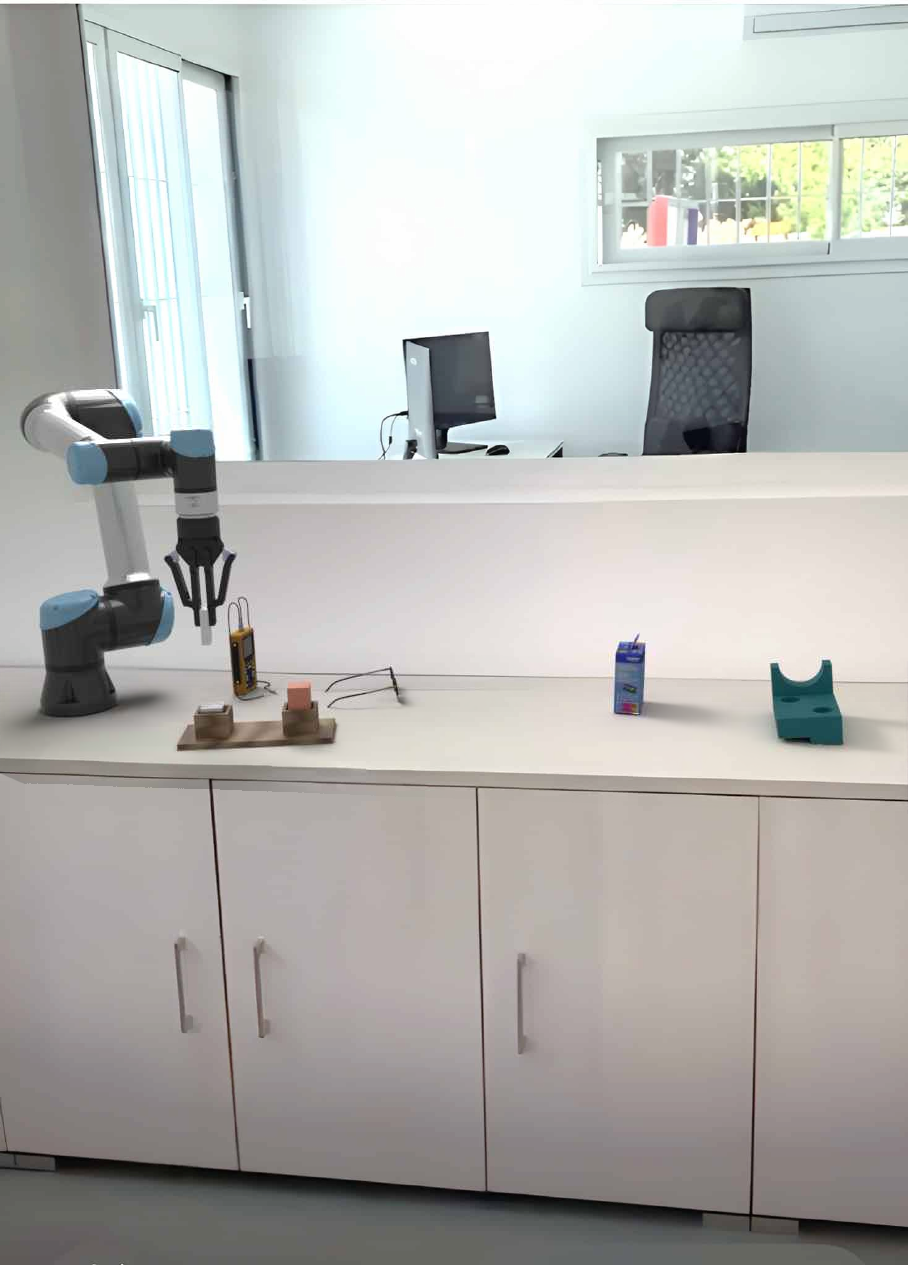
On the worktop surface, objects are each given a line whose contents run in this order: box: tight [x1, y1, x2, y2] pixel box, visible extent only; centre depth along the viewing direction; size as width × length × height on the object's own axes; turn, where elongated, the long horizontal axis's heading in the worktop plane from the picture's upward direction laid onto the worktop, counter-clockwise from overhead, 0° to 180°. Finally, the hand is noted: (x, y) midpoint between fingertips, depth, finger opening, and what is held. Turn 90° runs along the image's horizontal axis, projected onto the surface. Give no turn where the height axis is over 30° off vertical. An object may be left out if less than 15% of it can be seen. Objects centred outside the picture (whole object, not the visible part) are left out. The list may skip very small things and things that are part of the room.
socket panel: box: [176, 699, 336, 751], centre depth 216 cm, size 28×12×6 cm, turn 93°
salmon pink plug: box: [286, 681, 312, 710], centre depth 215 cm, size 4×4×5 cm
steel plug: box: [200, 701, 226, 714], centre depth 215 cm, size 4×4×5 cm
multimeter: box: [227, 596, 280, 701], centre depth 244 cm, size 15×10×20 cm
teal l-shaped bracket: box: [769, 659, 844, 745], centre depth 210 cm, size 18×11×10 cm, turn 168°
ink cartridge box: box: [613, 633, 646, 714], centre depth 225 cm, size 10×6×14 cm, turn 167°
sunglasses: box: [324, 666, 400, 708], centre depth 239 cm, size 14×15×5 cm
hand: (207, 643), depth 212 cm, fingers closed
